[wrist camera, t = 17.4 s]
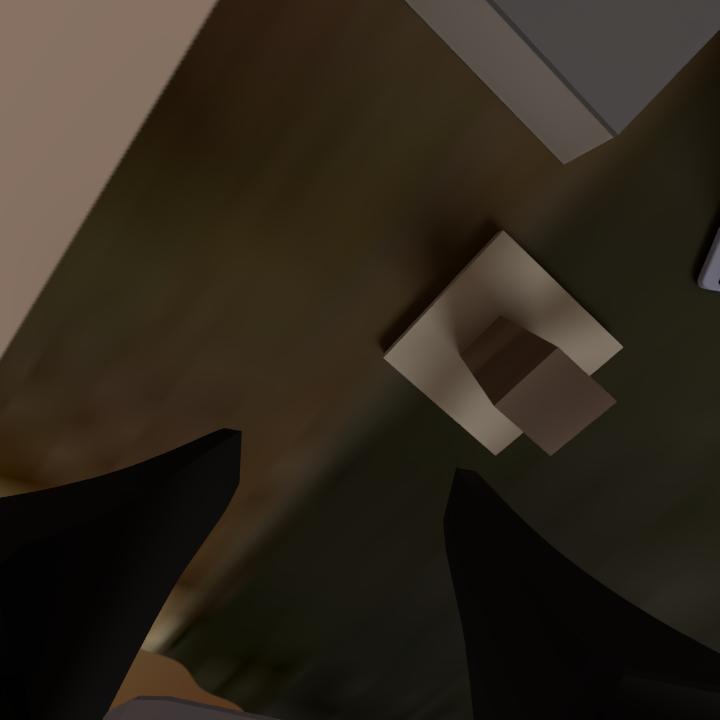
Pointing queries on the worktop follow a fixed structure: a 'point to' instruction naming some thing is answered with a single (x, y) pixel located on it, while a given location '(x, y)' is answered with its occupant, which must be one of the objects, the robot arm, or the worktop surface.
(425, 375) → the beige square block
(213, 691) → the worktop surface
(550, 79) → the switch box
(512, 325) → the brown rectangular block
